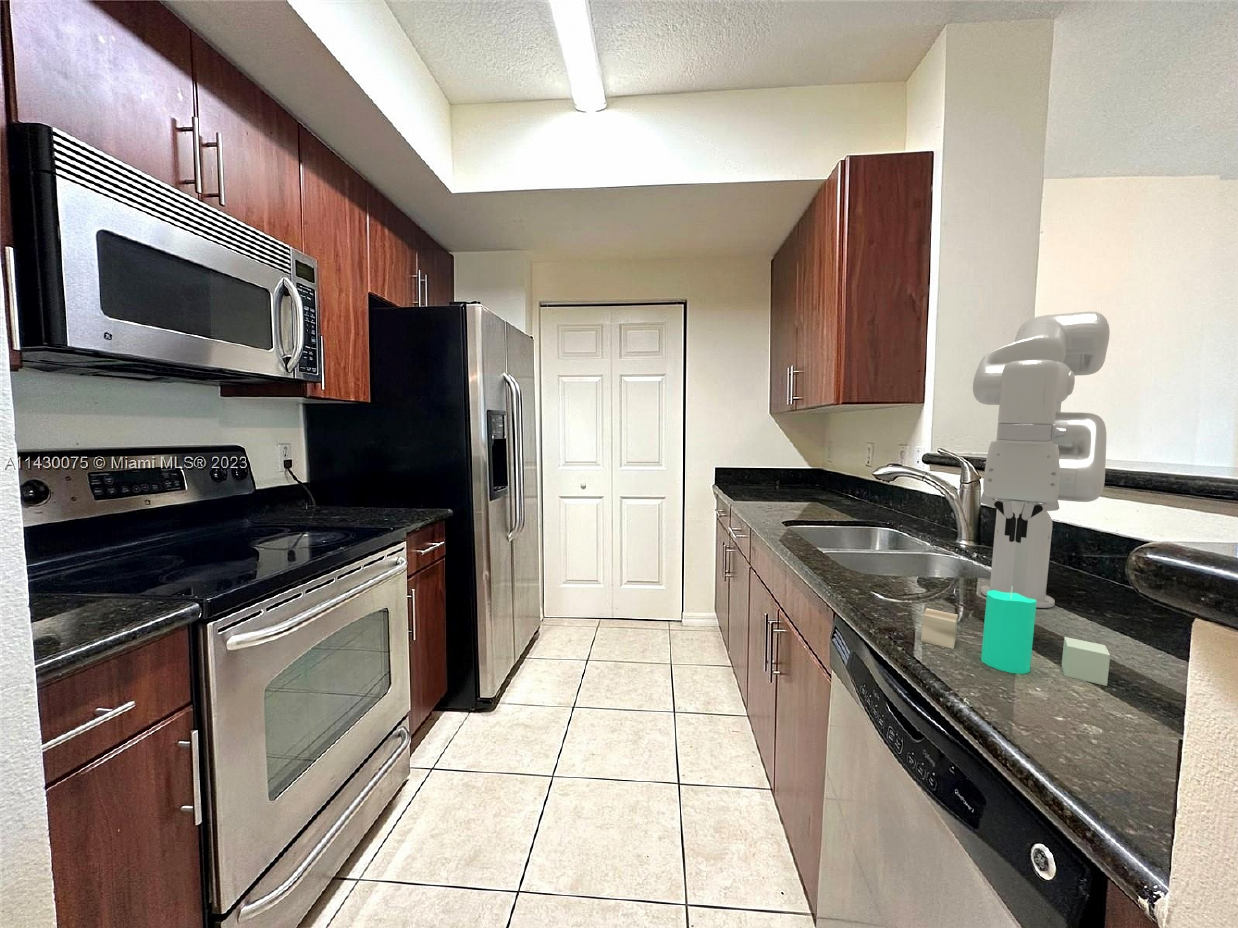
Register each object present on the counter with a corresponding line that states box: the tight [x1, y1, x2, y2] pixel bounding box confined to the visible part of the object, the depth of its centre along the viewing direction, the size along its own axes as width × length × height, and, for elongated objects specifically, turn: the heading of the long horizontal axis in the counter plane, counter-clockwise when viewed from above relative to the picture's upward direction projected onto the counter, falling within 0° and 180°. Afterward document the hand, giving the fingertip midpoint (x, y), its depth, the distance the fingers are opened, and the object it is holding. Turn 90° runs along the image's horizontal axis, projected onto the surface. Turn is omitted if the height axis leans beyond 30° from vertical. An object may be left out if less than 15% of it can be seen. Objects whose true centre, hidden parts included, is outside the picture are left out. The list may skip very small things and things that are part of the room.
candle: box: [980, 586, 1037, 675], centre depth 77 cm, size 6×6×12 cm
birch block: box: [920, 607, 959, 650], centre depth 85 cm, size 4×4×4 cm
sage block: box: [1061, 636, 1111, 687], centre depth 74 cm, size 4×4×4 cm
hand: (1014, 540), depth 89 cm, fingers closed
